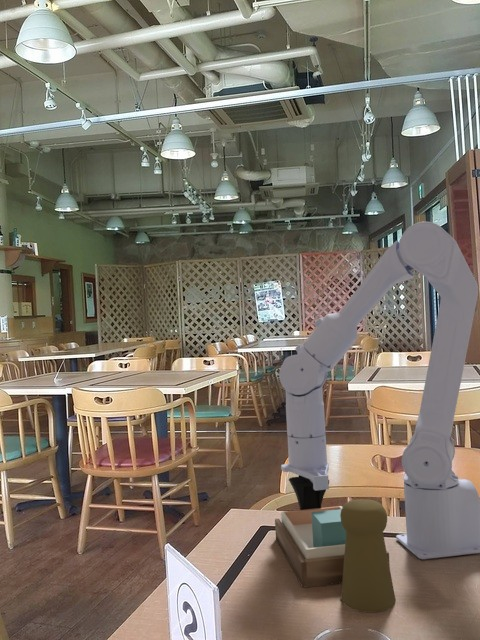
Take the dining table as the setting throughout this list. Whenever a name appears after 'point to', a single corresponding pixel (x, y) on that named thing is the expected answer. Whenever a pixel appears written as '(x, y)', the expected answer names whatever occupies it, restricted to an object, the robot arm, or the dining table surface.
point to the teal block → (327, 528)
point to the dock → (310, 562)
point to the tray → (308, 533)
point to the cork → (366, 557)
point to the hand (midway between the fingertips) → (311, 525)
